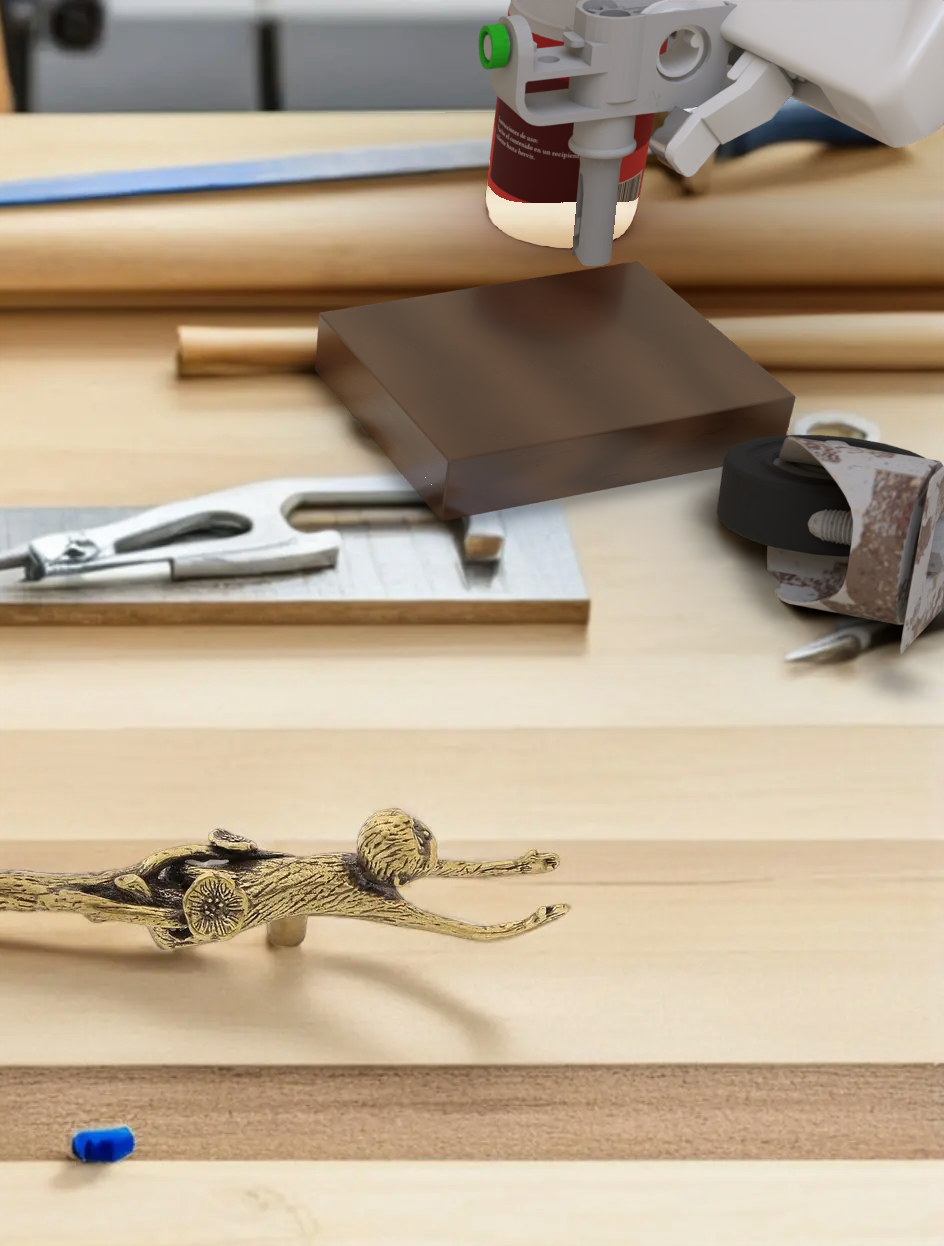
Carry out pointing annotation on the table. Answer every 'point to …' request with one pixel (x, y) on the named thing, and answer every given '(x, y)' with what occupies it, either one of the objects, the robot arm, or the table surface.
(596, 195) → the mechanical component
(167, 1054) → the table surface
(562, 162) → the canned food
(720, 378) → the plinth
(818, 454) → the caster wheel
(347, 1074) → the table surface
